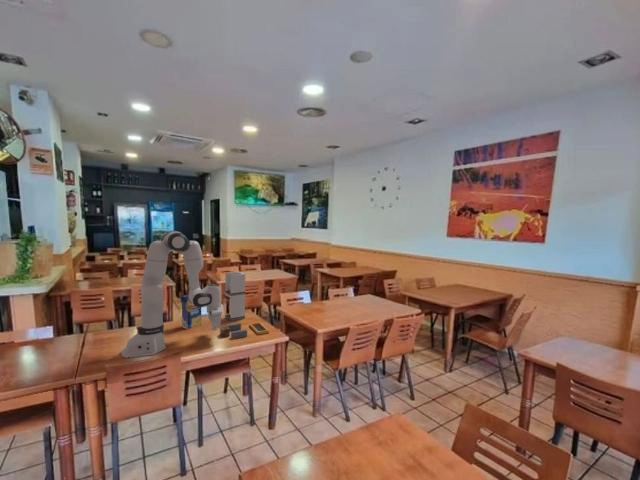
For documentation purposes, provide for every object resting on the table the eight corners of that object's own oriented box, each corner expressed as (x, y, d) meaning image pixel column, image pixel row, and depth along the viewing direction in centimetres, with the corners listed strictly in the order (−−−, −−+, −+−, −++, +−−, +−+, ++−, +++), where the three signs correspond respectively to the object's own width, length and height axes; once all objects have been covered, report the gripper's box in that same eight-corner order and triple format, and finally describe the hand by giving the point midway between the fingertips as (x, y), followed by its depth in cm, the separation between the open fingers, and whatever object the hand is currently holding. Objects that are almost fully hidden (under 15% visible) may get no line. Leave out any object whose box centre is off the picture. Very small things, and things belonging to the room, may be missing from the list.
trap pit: (257, 335, 209) (257, 332, 209) (249, 326, 224) (249, 323, 224) (269, 333, 213) (269, 330, 213) (259, 324, 228) (259, 322, 228)
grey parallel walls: (231, 338, 201) (232, 332, 201) (225, 330, 215) (225, 325, 214) (247, 336, 206) (247, 330, 206) (240, 328, 220) (240, 322, 220)
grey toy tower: (238, 314, 250) (239, 271, 247) (244, 318, 241) (245, 273, 239) (225, 317, 242) (225, 273, 240) (230, 321, 234) (231, 275, 232)
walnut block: (222, 337, 203) (222, 330, 203) (220, 334, 208) (220, 327, 207) (229, 336, 206) (229, 328, 205) (227, 333, 210) (227, 326, 210)
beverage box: (201, 324, 225) (201, 294, 223) (187, 329, 216) (187, 297, 214) (195, 322, 229) (195, 293, 227) (181, 327, 219) (181, 296, 218)
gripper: (205, 305, 209) (206, 325, 210) (212, 314, 191) (212, 335, 192) (215, 304, 212) (215, 323, 213) (222, 312, 194) (223, 333, 196)
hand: (214, 329), depth 203 cm, fingers closed
